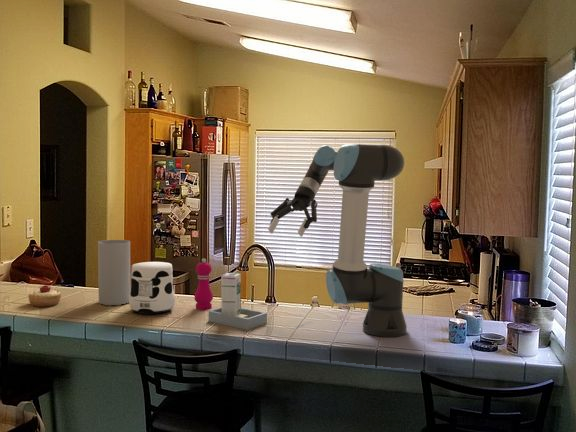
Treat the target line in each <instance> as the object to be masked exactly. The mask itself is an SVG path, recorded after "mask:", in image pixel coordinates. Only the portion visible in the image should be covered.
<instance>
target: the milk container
mask: <svg viewBox="0 0 576 432" xmlns="http://www.w3.org/2000/svg"><path fill="white" fill-rule="evenodd" d="M173 276H174V275H173V264H172V263H170V262H165V261H145V262H143V261H142V262H138V263H137V262H136V263H134V264H132V265H131V269H130V288H131V292H130V296H129V303H128V305H129V308H130V309H131V310H132V311H133V312H136V313H139V314H145V315H146V314H148V315H149V314H150V315H151V314H153V315H154V314H162V313H165V312H168V311H170V310H172V309H173V308H174V306H175V304H176V303H175V302H176V295H175V292H174V291H175V290H174V287H173V286H174V285H173V279H174V278H173Z"/></svg>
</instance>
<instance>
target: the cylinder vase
mask: <svg viewBox="0 0 576 432" xmlns="http://www.w3.org/2000/svg"><path fill="white" fill-rule="evenodd" d="M97 263H98V264H97V266H98V268H97V269H98V270H97V273H98V276H97V277H98V285H97V286H98V303H99V304H100V305H102V304H103V305H102V306H107V305H117V306H122V305H121V304H124V305H127V304H129V296H130V292H131V241H130V240H128V239H127V240H126V239H106V240H99V241H97ZM126 303H127V304H126Z"/></svg>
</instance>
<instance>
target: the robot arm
mask: <svg viewBox="0 0 576 432" xmlns="http://www.w3.org/2000/svg"><path fill="white" fill-rule="evenodd" d="M404 167H405V157H404V155H403V154H402V152H401V151H400V150H399V149H398V148H396V147H393V146H391V145H385V144H363V143H362V144H361V143H359V144H358V143H352V144H343V145H341V147H339V148H338V151H337V150H335V149H334V148H333V147H332V146H329V145H322V146H320V147H319V148H318V149H317V150H316V151H315V154H314V155H313V158H312V161H311V162H310V165H309V167H308V169H307V171H306V173H305V175H304V177H303V179H302V181H301V182H300V183H299V186H298V187H297V190H296V191H295V193H294V197H293V198H292V199H290V198H288V197H287V198H285V199H284V201H283V202H281V204H279V205H278V206H277V207H276V208H275V209H274V210H273V211H271V212H270V217H271V218H272V219H271V221H270V222H269V226H268V228H267V230H268V232H269V233H270V234H271V235H273V233H274V232H275V230H276V228H277V226H278V225H279V222H280V219H282V218H284V217H285V216H287V215H288V214H290V213H293V212H294V211H295V212H297V211H299V212H304V214H305V217H306V218H304V219H303V220H302V223H301V224H300V226H299V229H298V230H297V233H298V235H299V237H300V238H301V237H303V236H304V234H305V232H306V230H308V229H309V227H310V225H311V224H312V223H313V222H314V223H317V222H318V218H317V217H318V215H317V212H318V211H317V207H318V202H317V200H316V199H315V197H316V195H317V194H318V192H319V189H321V186H322V184H323V182H324V180H325V178H326V176H327V175H328V173H329V171H333V177H334V178H335V180H336V181H338V186H339V187H340V188H341V190H342V197H341V198H342V199H341V209H340V210H341V212H340V223H339V238H338V239H339V241H338V251H337V252H338V253H337V254H338V255H337V259H336V260H335V261H333V263H332V269H331V268H330V269H328V270H326V273H325V283H326V284H325V285H326V289H327V290H326V291H327V293H328V296H329V298H330V300H331V301H332V302H333V303H335V304H338V305H339V304H340V305H342V304H344V305H348V304H364V303H365V304H368V308H367V311H366V314H365V317H364V320H363V322H362V331H363V332H364V333H365V334H368V335H372V336H376V337H381V338H382V337H383V338H394V337H395V338H396V337H402V336H405V335H406V334H407V332H408V331H407V329H408V327H407V322H406V319H405V315H404V312H403V297H404V296H403V294H404V271H403V270H402V269H401V268H399V267H397V266H394V265H390V264H383V263H370V264H369V266H368V265H367V263H366V262H365V261H364V256H365V245H366V232H367V220H368V208H369V197H370V191H372V190H373V189H374V188H375V183H376V181H377V182H378V181H390V180H393V179H395V178H396V177H398V176H399V175H400V174H401V173H402V172H403V170H404ZM309 207H310V209H311V211H310V212H309V210H308V208H309ZM310 213H311V215H310Z"/></svg>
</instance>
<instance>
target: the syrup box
mask: <svg viewBox="0 0 576 432" xmlns="http://www.w3.org/2000/svg"><path fill="white" fill-rule="evenodd" d="M241 275H242V274H241V273H237V272H226V273H225V274H223V275H221V276H220V277H221V278H220V279H221V281H220V282H221V284H220V285H221V287H220V288H221V291H220V292H221V296H220V297H221V307H222V313H224V314H229V315H234V316H237V315H238V314H239V313H240V312H241V308H242V281H241V279H242V277H241Z"/></svg>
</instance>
